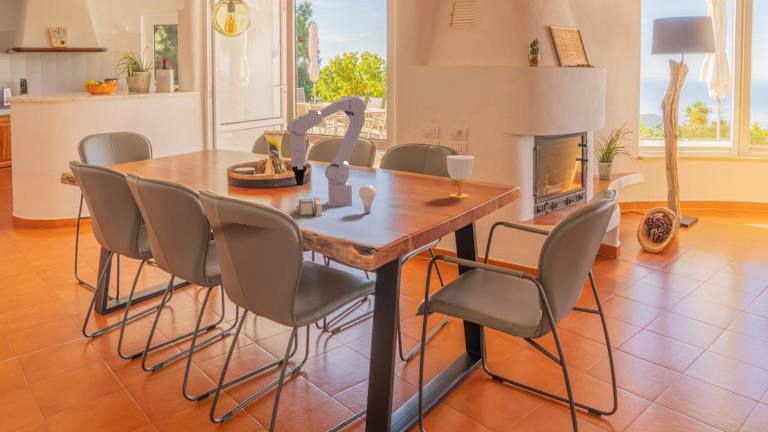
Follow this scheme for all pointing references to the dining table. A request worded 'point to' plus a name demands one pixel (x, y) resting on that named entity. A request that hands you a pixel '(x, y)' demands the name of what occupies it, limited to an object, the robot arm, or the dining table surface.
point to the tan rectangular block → (317, 207)
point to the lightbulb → (367, 197)
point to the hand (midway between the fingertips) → (299, 185)
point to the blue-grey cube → (305, 207)
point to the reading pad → (304, 215)
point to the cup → (460, 170)
